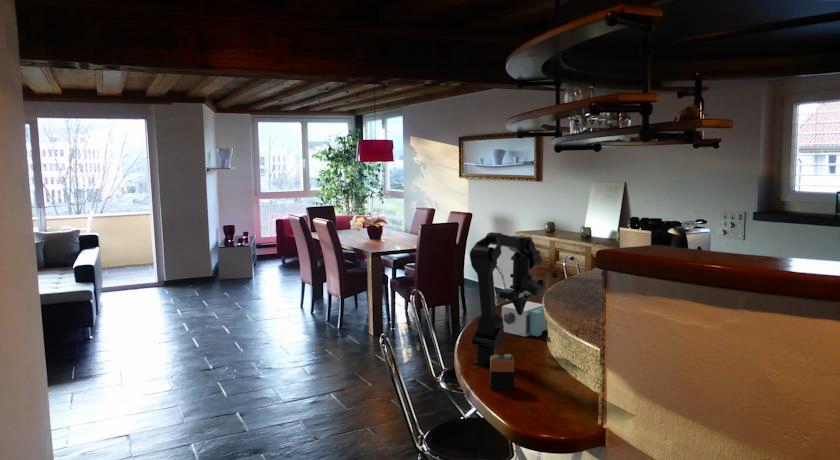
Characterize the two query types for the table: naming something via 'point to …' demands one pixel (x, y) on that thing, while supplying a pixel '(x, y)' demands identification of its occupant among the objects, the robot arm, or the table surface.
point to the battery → (502, 372)
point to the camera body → (518, 318)
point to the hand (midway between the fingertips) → (520, 314)
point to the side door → (537, 322)
